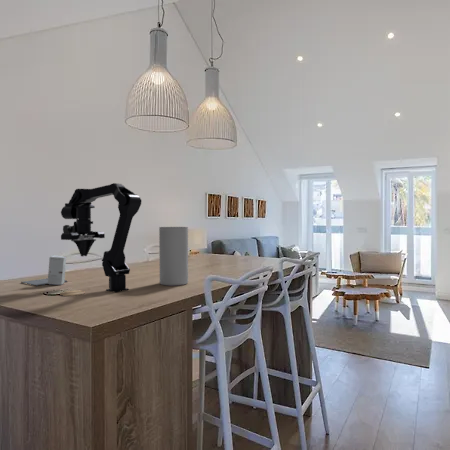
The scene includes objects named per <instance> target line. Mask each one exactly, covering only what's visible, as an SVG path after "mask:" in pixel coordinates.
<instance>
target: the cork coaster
mask: <svg viewBox="0 0 450 450" xmlns="http://www.w3.org/2000/svg"><path fill="white" fill-rule="evenodd" d="M59 294H60V295H63V296H62V297H77V296H82V295H84V294H86V291H84V290H66V291H62V292H60V293H59ZM60 295H59V296H60ZM76 295H77V296H76Z"/></svg>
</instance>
